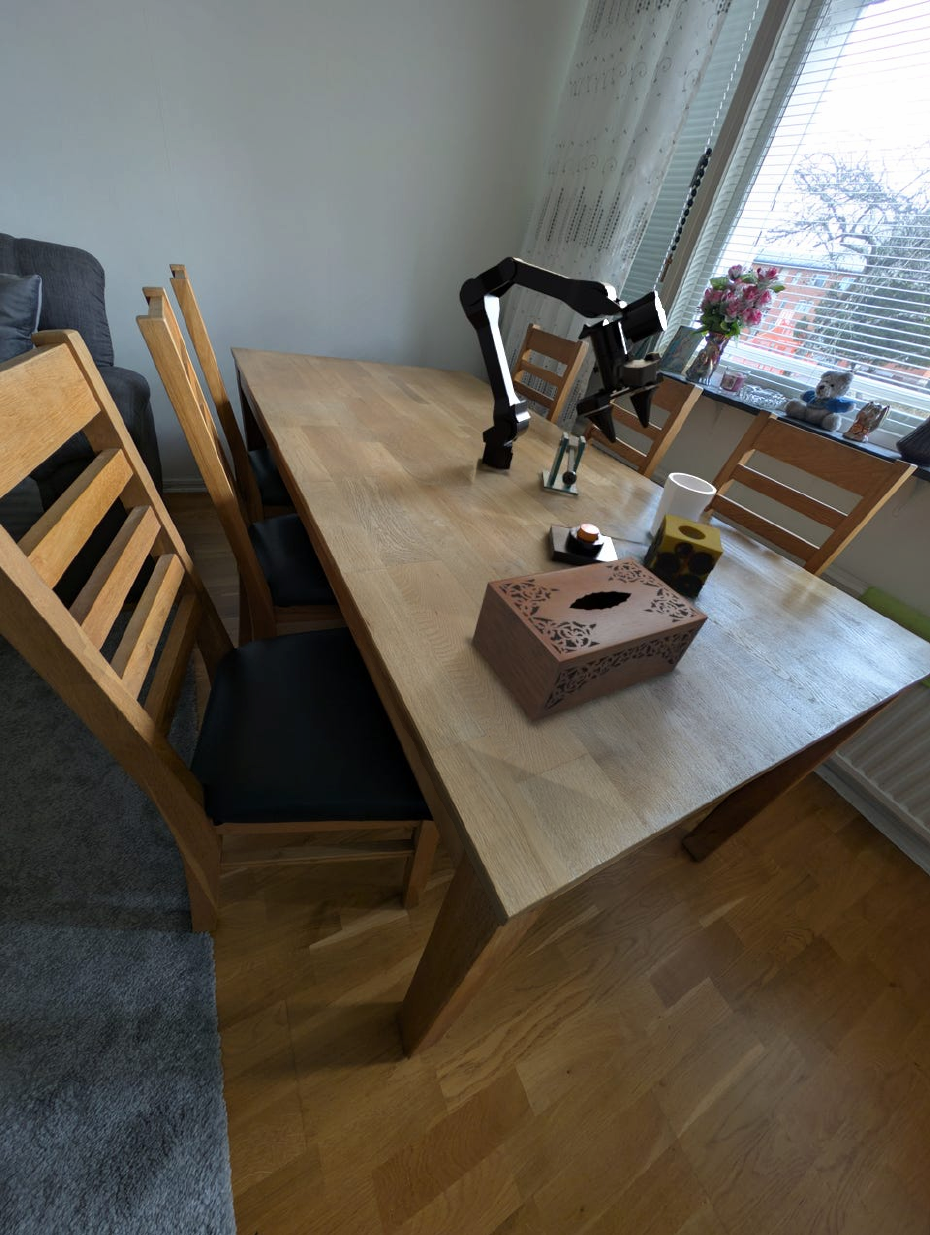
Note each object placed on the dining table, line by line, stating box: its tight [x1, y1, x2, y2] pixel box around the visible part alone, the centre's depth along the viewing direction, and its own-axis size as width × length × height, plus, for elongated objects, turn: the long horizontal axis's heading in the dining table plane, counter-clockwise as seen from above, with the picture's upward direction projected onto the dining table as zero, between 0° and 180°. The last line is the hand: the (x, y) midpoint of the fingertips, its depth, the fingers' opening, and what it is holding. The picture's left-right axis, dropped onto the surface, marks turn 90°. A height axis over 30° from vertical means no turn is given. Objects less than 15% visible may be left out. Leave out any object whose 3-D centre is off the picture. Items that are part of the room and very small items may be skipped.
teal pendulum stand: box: [541, 431, 587, 496], centre depth 111 cm, size 10×8×12 cm
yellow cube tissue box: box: [642, 514, 724, 599], centre depth 87 cm, size 10×10×10 cm
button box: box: [547, 524, 619, 567], centre depth 90 cm, size 12×10×4 cm
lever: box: [562, 435, 579, 486], centre depth 107 cm, size 13×3×3 cm, turn 175°
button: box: [577, 523, 601, 541], centre depth 88 cm, size 4×4×2 cm
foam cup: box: [649, 472, 717, 538], centre depth 99 cm, size 10×9×13 cm
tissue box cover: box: [471, 557, 709, 723], centre depth 64 cm, size 26×14×10 cm, turn 120°
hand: (630, 435), depth 98 cm, fingers open, 9 cm apart
